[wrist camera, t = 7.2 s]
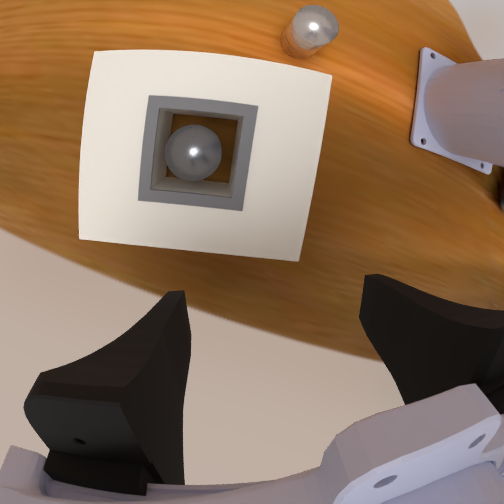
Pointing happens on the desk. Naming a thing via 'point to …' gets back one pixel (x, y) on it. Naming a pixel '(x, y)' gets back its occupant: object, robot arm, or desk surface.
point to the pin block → (200, 192)
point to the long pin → (193, 152)
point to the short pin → (309, 31)
